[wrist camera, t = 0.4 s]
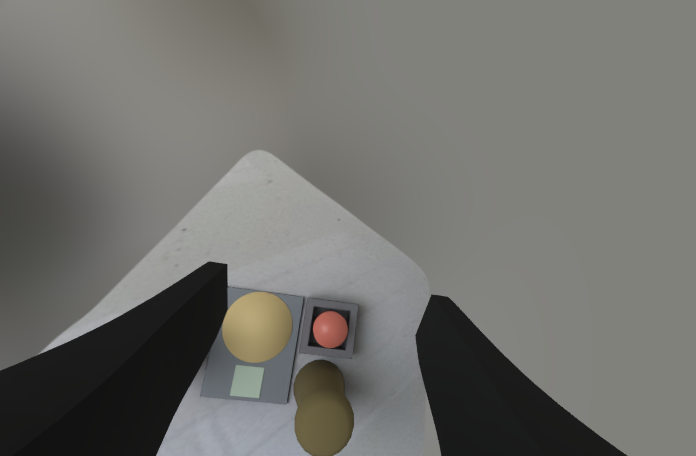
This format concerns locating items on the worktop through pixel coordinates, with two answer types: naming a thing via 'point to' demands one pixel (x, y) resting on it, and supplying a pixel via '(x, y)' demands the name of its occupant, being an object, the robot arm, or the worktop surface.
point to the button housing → (308, 339)
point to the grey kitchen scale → (254, 348)
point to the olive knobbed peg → (322, 409)
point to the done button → (330, 329)
